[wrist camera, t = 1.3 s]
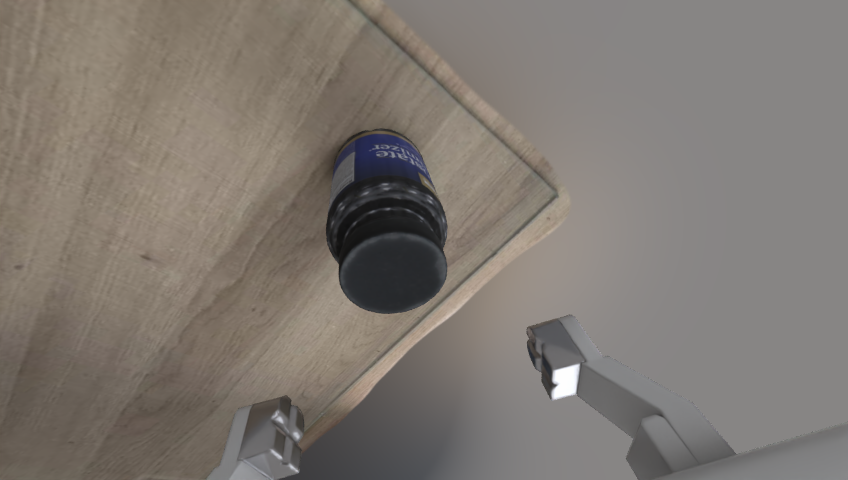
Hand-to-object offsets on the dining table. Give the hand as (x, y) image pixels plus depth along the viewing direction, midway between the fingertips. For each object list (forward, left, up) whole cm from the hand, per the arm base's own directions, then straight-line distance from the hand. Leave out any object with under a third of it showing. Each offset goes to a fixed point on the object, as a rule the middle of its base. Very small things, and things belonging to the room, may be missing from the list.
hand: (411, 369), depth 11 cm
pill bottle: (0, 0, -15) cm, 15 cm away
